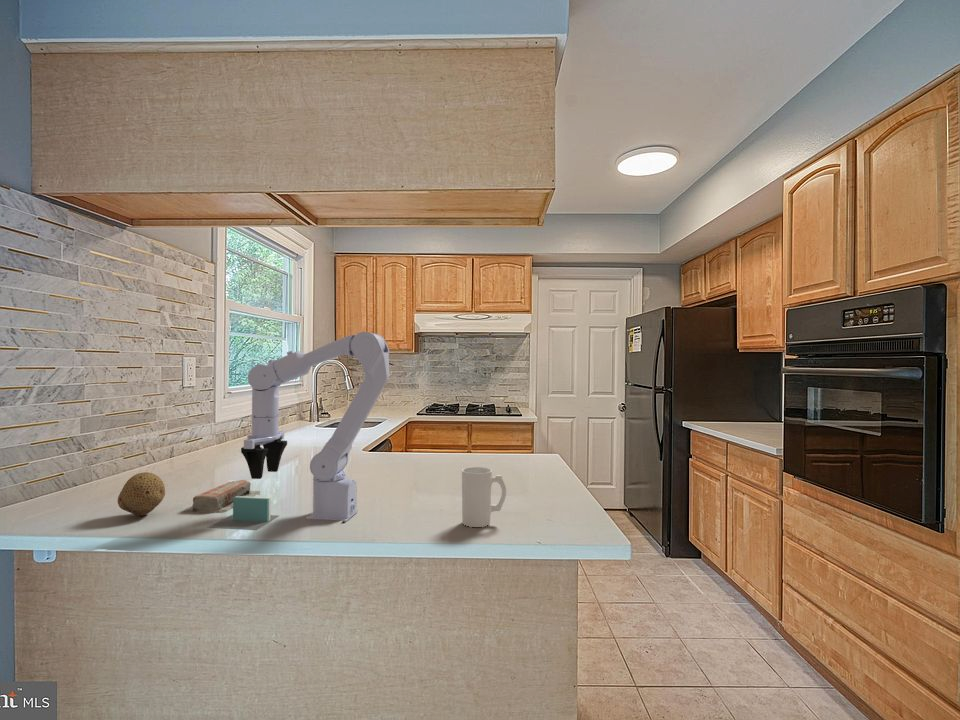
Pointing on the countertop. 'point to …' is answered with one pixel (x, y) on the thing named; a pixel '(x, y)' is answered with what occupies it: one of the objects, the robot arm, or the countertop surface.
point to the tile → (251, 508)
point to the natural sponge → (141, 494)
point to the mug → (479, 496)
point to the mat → (240, 523)
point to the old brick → (221, 497)
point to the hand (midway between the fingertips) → (264, 474)
